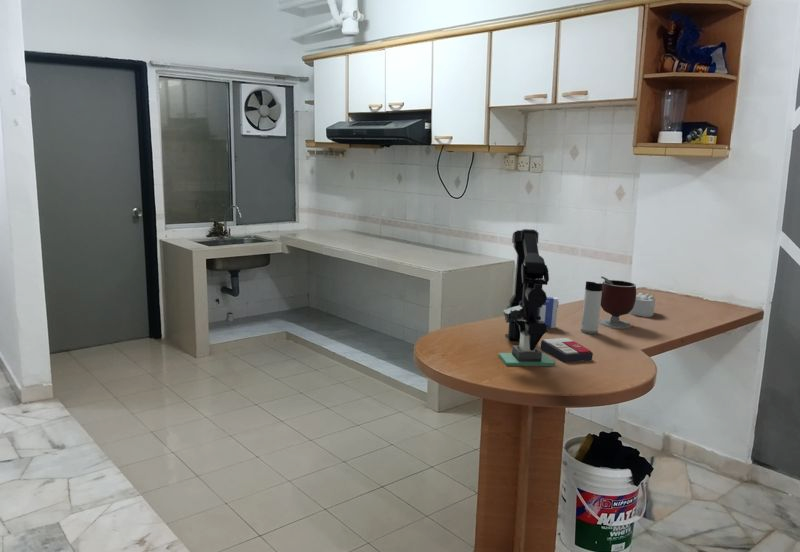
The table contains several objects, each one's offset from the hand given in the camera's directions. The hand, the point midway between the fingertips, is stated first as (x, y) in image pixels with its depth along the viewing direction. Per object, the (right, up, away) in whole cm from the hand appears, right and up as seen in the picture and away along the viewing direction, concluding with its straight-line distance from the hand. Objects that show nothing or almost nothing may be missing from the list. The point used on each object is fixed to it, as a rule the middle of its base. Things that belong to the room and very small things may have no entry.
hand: (527, 346), depth 216 cm
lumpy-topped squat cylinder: (+64, +6, +76) cm, 100 cm away
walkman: (+16, +3, +45) cm, 48 cm away
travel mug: (+31, +1, +40) cm, 51 cm away
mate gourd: (+45, +3, +54) cm, 70 cm away
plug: (0, -3, +1) cm, 3 cm away
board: (0, -5, +1) cm, 5 cm away
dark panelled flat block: (+15, -5, +10) cm, 19 cm away
